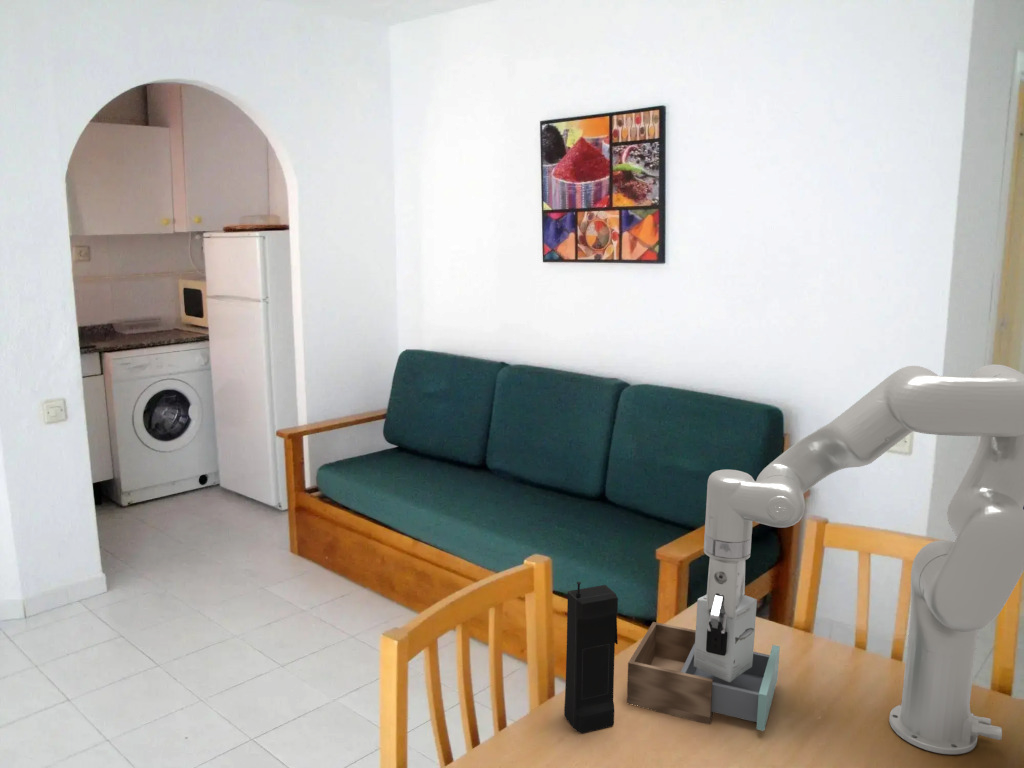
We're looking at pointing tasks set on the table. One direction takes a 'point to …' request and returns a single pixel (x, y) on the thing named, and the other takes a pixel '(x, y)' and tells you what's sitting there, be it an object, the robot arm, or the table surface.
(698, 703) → the box
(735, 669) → the supplement box
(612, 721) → the portable radio
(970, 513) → the robot arm
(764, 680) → the drawer
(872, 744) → the table surface
